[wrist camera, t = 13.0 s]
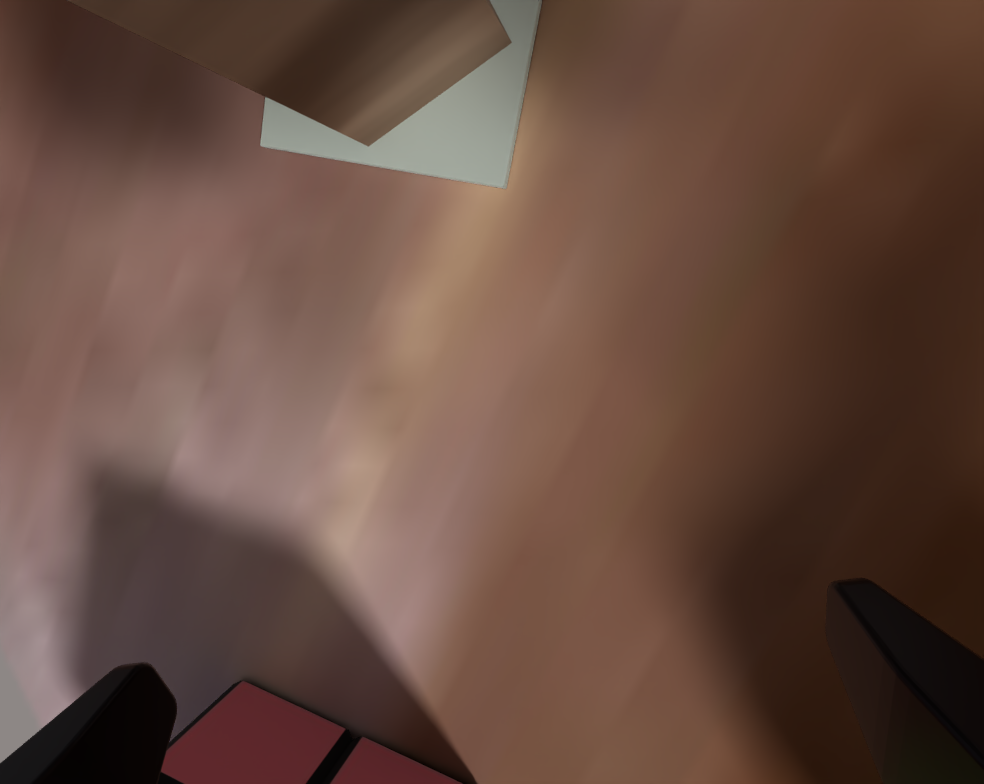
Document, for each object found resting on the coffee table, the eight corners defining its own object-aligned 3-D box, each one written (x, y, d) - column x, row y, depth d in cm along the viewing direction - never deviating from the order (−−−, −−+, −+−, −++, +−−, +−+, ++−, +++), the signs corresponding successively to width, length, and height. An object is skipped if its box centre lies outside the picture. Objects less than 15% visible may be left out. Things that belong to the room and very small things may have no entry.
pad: (566, -127, 16) (564, -135, 16) (506, 189, 18) (503, 187, 18) (298, -140, 18) (292, -147, 18) (266, 147, 20) (260, 145, 19)
